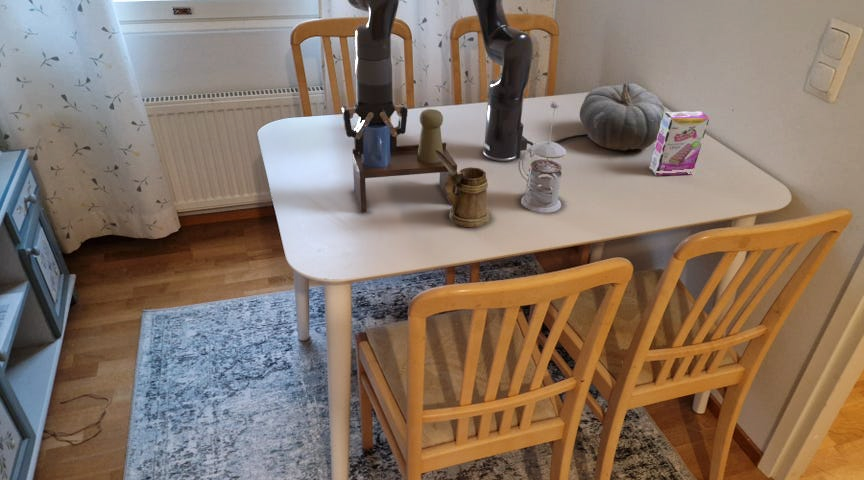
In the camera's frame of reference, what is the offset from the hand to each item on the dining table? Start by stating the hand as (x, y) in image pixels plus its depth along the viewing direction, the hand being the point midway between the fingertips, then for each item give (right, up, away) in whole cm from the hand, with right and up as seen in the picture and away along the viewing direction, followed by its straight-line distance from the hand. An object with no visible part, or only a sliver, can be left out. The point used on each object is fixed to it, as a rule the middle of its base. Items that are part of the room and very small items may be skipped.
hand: (376, 152), depth 141 cm
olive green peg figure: (+12, 0, +5) cm, 13 cm away
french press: (+37, -10, +12) cm, 40 cm away
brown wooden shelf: (+5, -9, +9) cm, 14 cm away
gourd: (+64, +12, +46) cm, 80 cm away
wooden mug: (+19, -15, +2) cm, 24 cm away
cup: (0, -2, +1) cm, 2 cm away
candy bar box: (+75, 0, +31) cm, 81 cm away
